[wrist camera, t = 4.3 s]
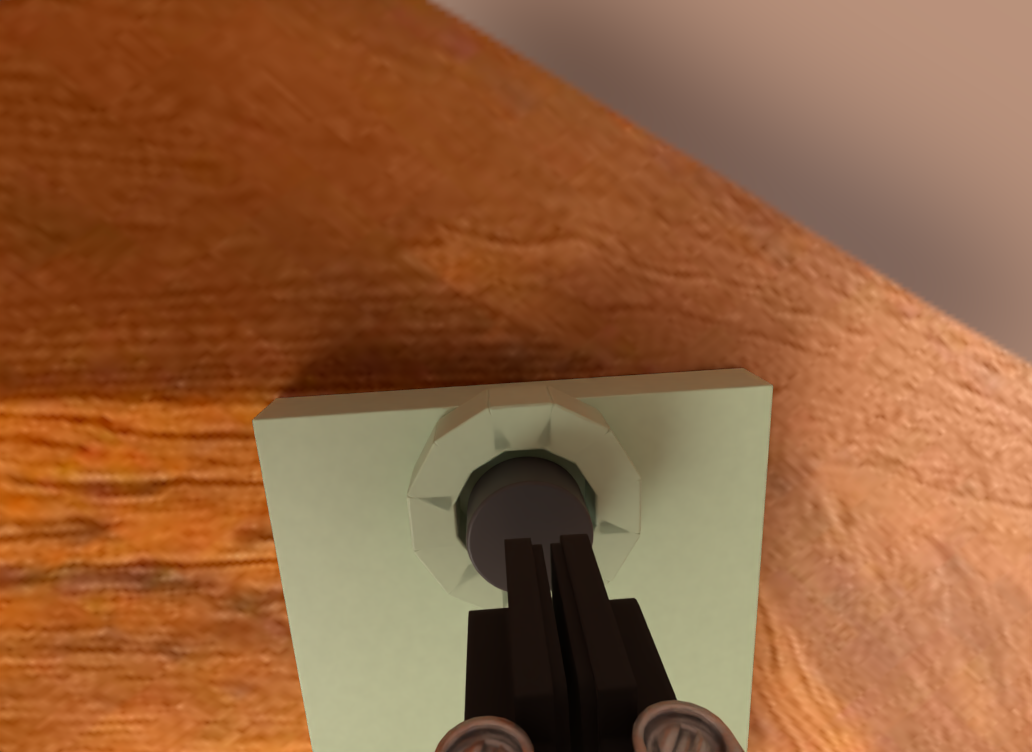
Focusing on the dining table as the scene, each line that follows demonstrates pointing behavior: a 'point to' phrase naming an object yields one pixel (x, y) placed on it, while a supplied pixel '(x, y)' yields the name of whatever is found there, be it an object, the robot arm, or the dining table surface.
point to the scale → (443, 519)
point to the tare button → (522, 512)
